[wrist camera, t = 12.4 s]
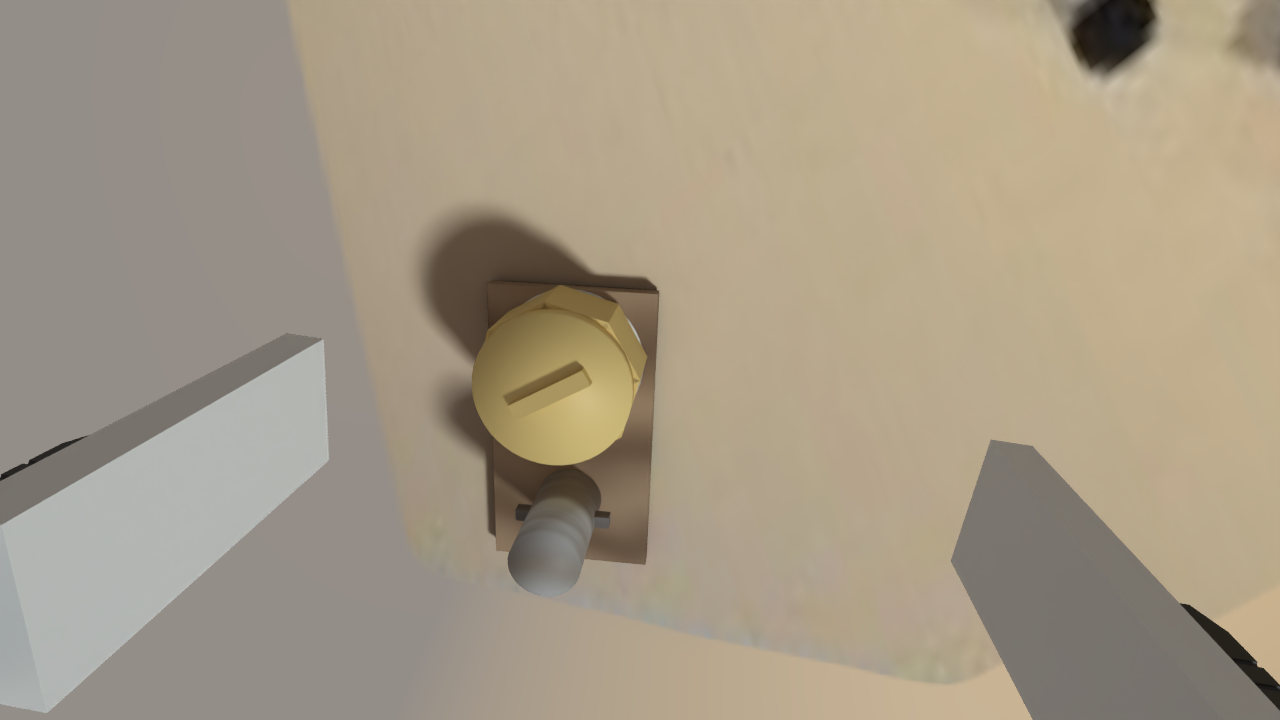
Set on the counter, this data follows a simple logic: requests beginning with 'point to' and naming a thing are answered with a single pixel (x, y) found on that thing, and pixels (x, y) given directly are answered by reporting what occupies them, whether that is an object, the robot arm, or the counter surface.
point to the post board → (605, 466)
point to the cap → (558, 377)
